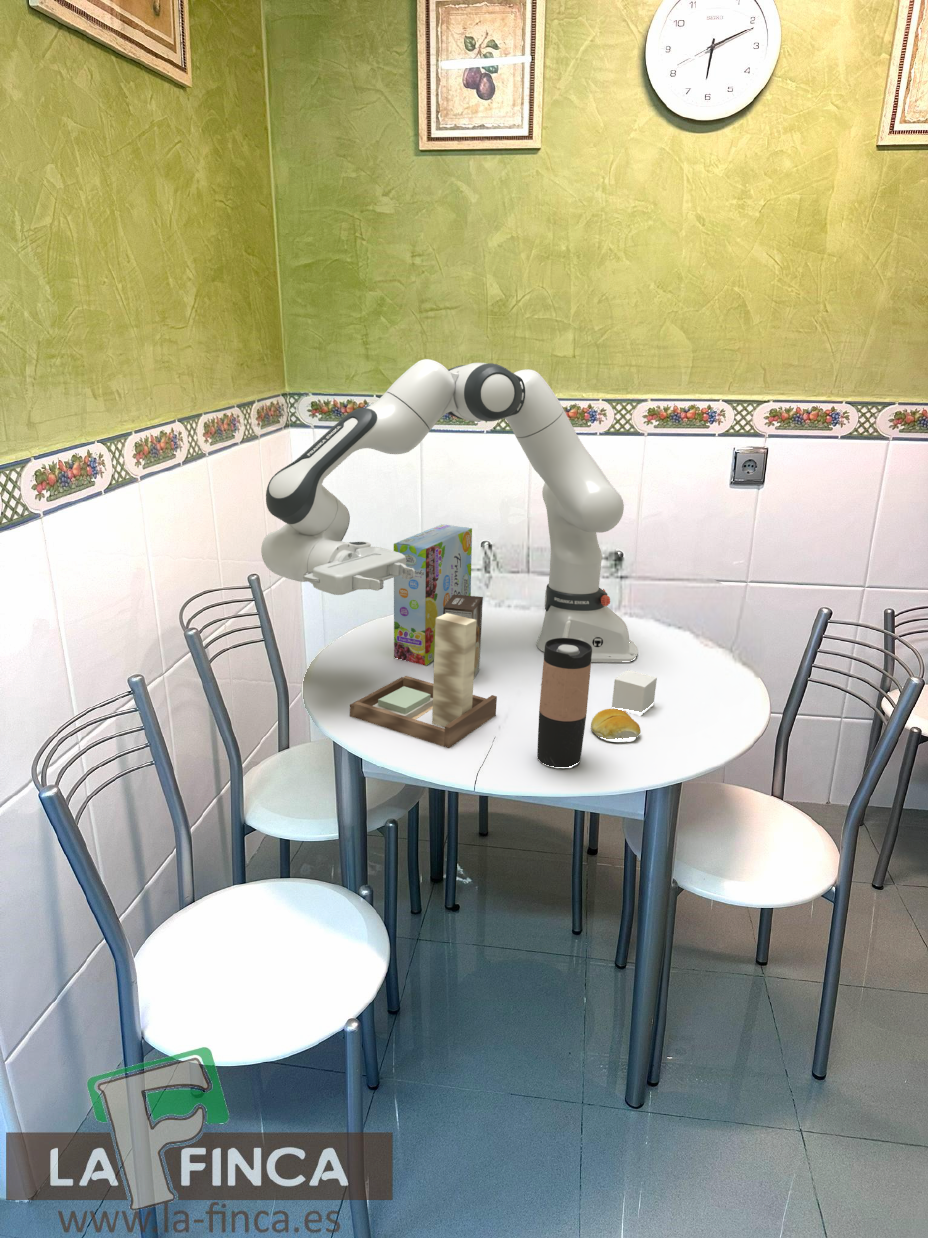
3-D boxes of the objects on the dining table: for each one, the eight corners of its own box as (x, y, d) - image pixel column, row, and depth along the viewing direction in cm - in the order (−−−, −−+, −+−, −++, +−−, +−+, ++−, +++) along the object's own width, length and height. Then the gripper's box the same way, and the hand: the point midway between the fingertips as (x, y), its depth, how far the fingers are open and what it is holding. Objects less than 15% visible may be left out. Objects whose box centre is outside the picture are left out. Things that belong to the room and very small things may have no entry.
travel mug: (547, 744, 145) (556, 634, 138) (589, 756, 141) (600, 644, 135) (527, 761, 138) (536, 647, 132) (570, 775, 135) (581, 658, 128)
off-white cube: (624, 698, 165) (627, 669, 163) (653, 706, 162) (657, 677, 160) (611, 708, 160) (614, 678, 158) (641, 716, 157) (644, 687, 155)
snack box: (437, 630, 198) (441, 522, 190) (471, 637, 194) (476, 527, 186) (389, 659, 179) (391, 540, 171) (425, 667, 176) (429, 546, 167)
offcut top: (378, 705, 153) (378, 699, 152) (403, 692, 159) (404, 686, 159) (405, 714, 150) (405, 708, 150) (430, 700, 156) (430, 694, 156)
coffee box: (449, 666, 177) (452, 593, 172) (479, 670, 176) (483, 596, 170) (439, 683, 168) (442, 606, 163) (471, 686, 167) (475, 609, 162)
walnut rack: (349, 717, 151) (349, 696, 150) (401, 688, 164) (401, 669, 163) (449, 749, 141) (449, 727, 140) (495, 716, 154) (496, 696, 153)
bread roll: (625, 721, 155) (627, 701, 154) (645, 743, 147) (648, 722, 146) (582, 723, 154) (584, 703, 152) (601, 746, 145) (603, 725, 144)
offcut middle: (372, 712, 153) (372, 706, 153) (402, 695, 161) (402, 689, 161) (404, 722, 150) (405, 716, 149) (434, 704, 157) (434, 698, 157)
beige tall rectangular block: (432, 724, 150) (435, 617, 144) (442, 717, 153) (446, 612, 146) (460, 733, 147) (465, 625, 141) (471, 726, 150) (476, 619, 144)
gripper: (296, 559, 145) (360, 573, 138) (369, 539, 162) (429, 552, 155) (297, 594, 147) (360, 610, 140) (368, 571, 164) (428, 585, 157)
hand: (397, 579), depth 148 cm, fingers open, 8 cm apart
